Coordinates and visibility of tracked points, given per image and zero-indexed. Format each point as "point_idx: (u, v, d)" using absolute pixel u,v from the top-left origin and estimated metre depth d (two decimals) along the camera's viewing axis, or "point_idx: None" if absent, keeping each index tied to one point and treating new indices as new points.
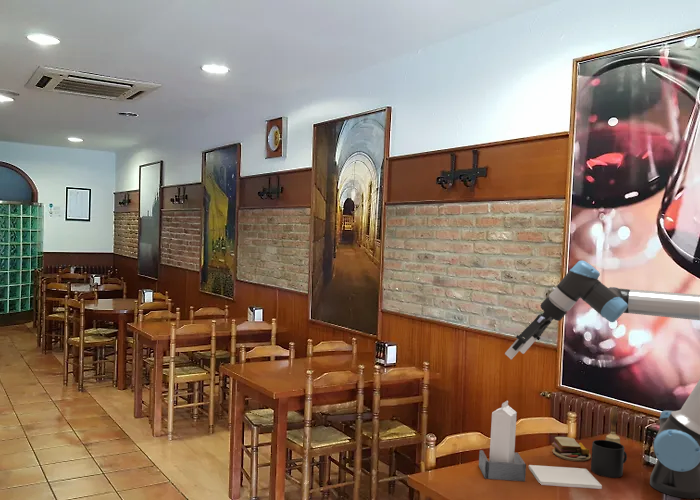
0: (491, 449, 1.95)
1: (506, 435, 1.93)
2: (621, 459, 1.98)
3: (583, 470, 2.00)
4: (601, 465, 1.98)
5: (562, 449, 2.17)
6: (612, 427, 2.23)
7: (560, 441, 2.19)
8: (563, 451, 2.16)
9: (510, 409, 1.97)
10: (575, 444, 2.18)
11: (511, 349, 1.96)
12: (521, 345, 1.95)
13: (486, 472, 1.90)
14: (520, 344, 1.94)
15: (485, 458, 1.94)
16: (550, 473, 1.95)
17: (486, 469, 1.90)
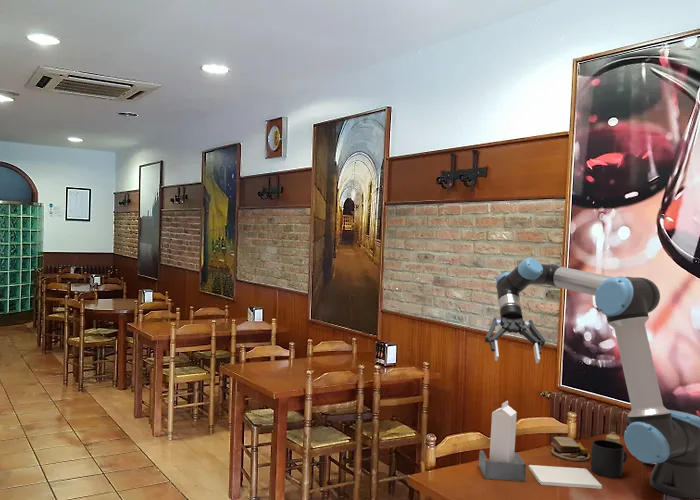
0: (491, 449, 1.95)
1: (506, 435, 1.93)
2: (621, 459, 1.98)
3: (583, 470, 2.00)
4: (601, 465, 1.98)
5: (561, 449, 2.16)
6: (612, 427, 2.23)
7: (559, 441, 2.19)
8: (562, 451, 2.16)
9: (510, 409, 1.97)
10: (574, 444, 2.18)
11: (494, 353, 2.13)
12: (494, 343, 2.15)
13: (486, 472, 1.90)
14: (491, 342, 2.15)
15: (485, 458, 1.94)
16: (550, 473, 1.95)
17: (486, 469, 1.90)
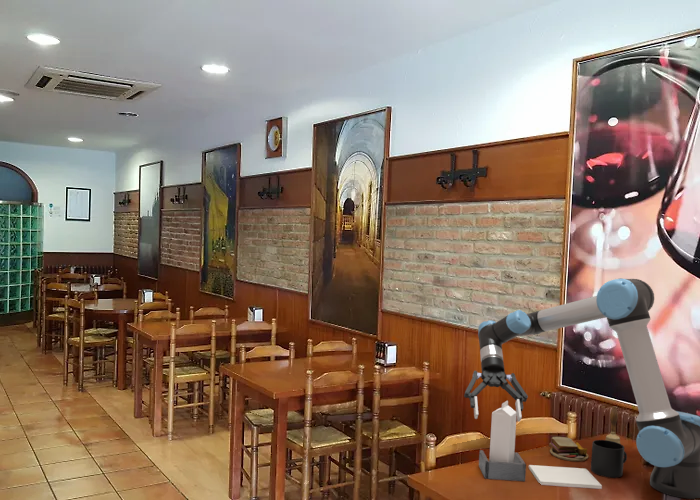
0: (491, 449, 1.95)
1: (506, 435, 1.93)
2: (621, 459, 1.98)
3: (583, 470, 2.00)
4: (601, 465, 1.98)
5: (560, 449, 2.16)
6: (612, 427, 2.23)
7: (557, 441, 2.19)
8: (561, 451, 2.16)
9: (510, 409, 1.97)
10: (572, 444, 2.18)
11: (474, 410, 2.03)
12: (474, 399, 2.05)
13: (486, 472, 1.90)
14: (470, 398, 2.05)
15: (485, 458, 1.94)
16: (550, 473, 1.95)
17: (486, 469, 1.90)
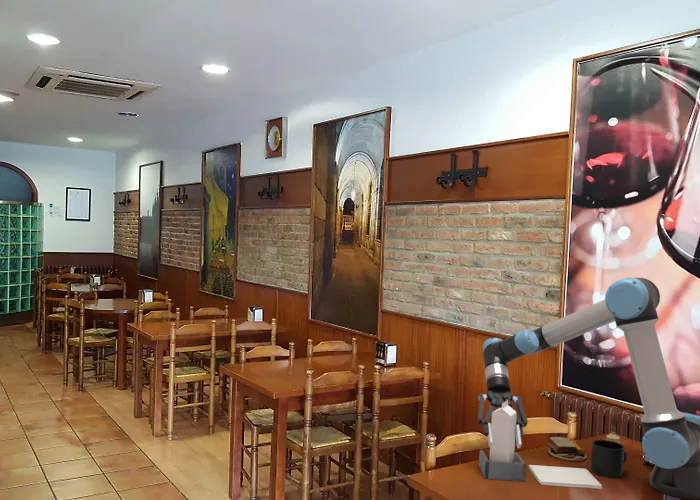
0: (491, 449, 1.95)
1: (506, 435, 1.93)
2: (621, 459, 1.98)
3: (583, 470, 2.00)
4: (601, 465, 1.98)
5: (558, 449, 2.16)
6: (612, 427, 2.23)
7: (555, 441, 2.18)
8: (559, 451, 2.16)
9: (510, 409, 1.97)
10: (570, 444, 2.18)
11: (488, 437, 1.95)
12: (488, 426, 1.96)
13: (486, 472, 1.90)
14: (484, 425, 1.97)
15: (485, 458, 1.94)
16: (550, 473, 1.95)
17: (486, 469, 1.90)
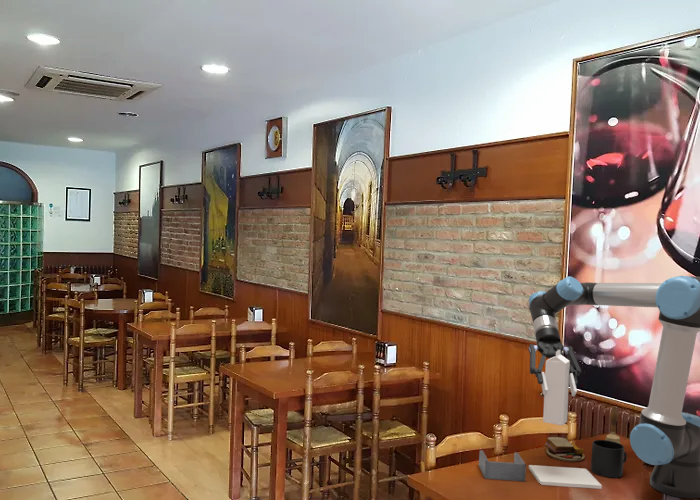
0: (545, 398, 1.94)
1: (561, 383, 1.92)
2: (621, 459, 1.98)
3: (583, 470, 2.00)
4: (601, 465, 1.98)
5: (556, 450, 2.15)
6: (612, 427, 2.23)
7: (553, 442, 2.18)
8: (557, 452, 2.15)
9: (563, 357, 1.96)
10: (568, 444, 2.18)
11: (542, 386, 1.94)
12: (542, 375, 1.95)
13: (486, 472, 1.90)
14: (537, 374, 1.96)
15: (485, 458, 1.94)
16: (550, 473, 1.95)
17: (486, 469, 1.90)
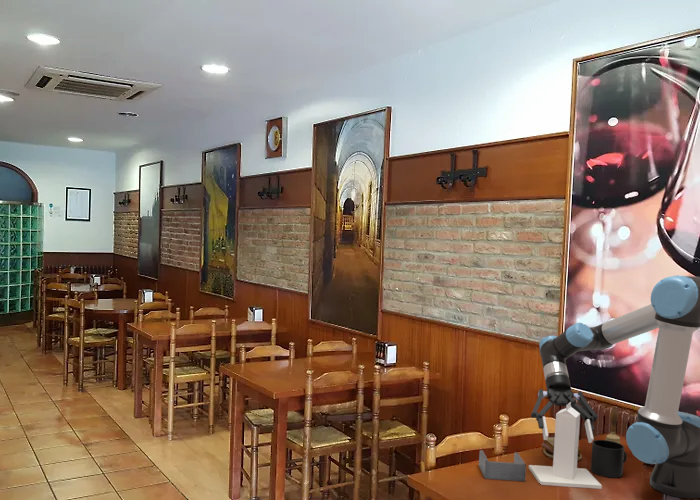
0: (555, 451, 1.93)
1: (571, 437, 1.91)
2: (621, 459, 1.98)
3: (583, 470, 2.00)
4: (601, 465, 1.98)
5: None
6: (612, 427, 2.23)
7: (551, 442, 2.17)
8: None
9: (573, 410, 1.95)
10: None
11: (543, 431, 1.95)
12: (542, 419, 1.96)
13: (486, 472, 1.90)
14: (538, 418, 1.96)
15: (485, 458, 1.94)
16: (550, 473, 1.95)
17: (486, 469, 1.90)
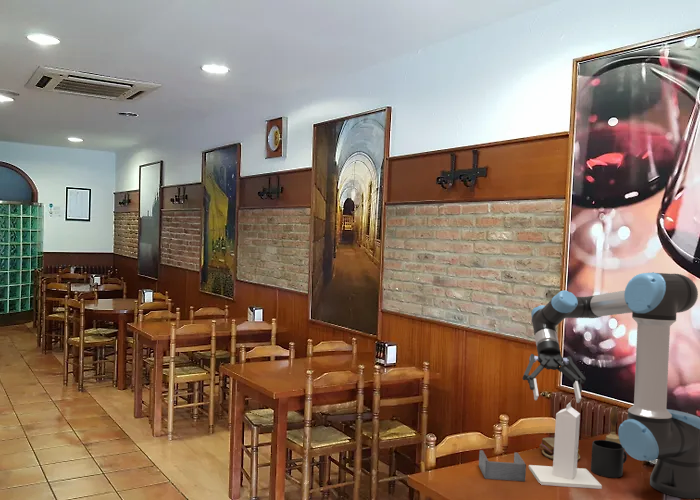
0: (555, 451, 1.93)
1: (571, 437, 1.91)
2: (621, 459, 1.98)
3: (583, 470, 2.00)
4: (601, 465, 1.98)
5: (552, 450, 2.15)
6: (612, 427, 2.23)
7: (549, 442, 2.17)
8: (553, 452, 2.15)
9: (573, 410, 1.95)
10: None
11: (534, 392, 2.07)
12: (533, 381, 2.08)
13: (486, 472, 1.90)
14: (529, 380, 2.09)
15: (485, 458, 1.94)
16: (550, 473, 1.95)
17: (486, 469, 1.90)
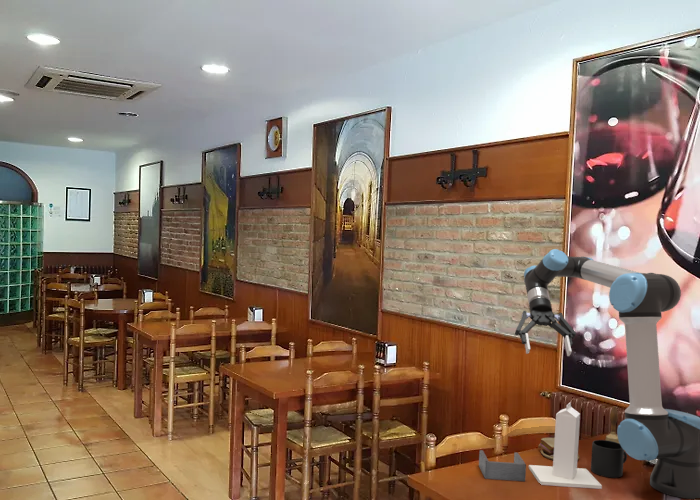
0: (555, 451, 1.93)
1: (571, 437, 1.91)
2: (621, 459, 1.98)
3: (583, 470, 2.00)
4: (601, 465, 1.98)
5: (551, 451, 2.14)
6: (612, 427, 2.23)
7: (548, 442, 2.17)
8: (552, 452, 2.14)
9: (573, 410, 1.95)
10: None
11: (525, 346, 2.13)
12: (525, 335, 2.14)
13: (486, 472, 1.90)
14: (521, 335, 2.15)
15: (485, 458, 1.94)
16: (550, 473, 1.95)
17: (486, 469, 1.90)
